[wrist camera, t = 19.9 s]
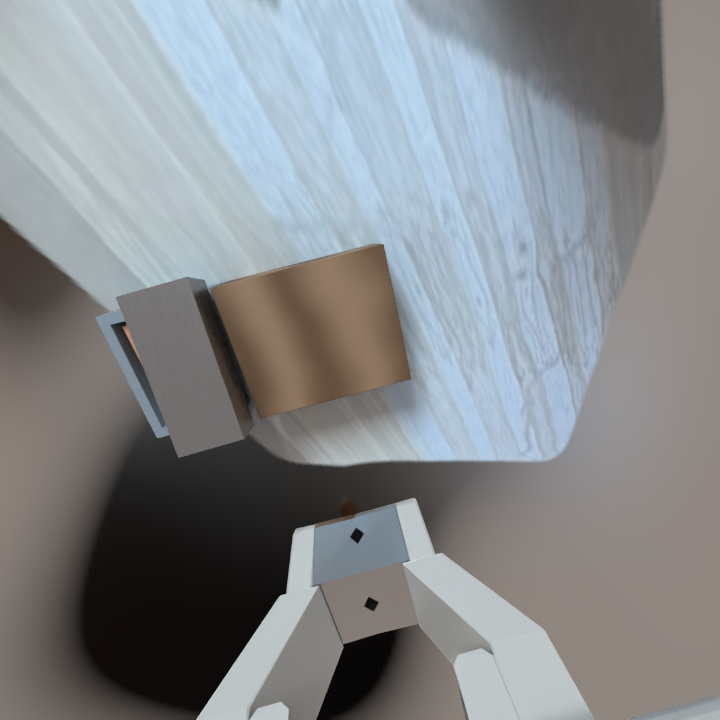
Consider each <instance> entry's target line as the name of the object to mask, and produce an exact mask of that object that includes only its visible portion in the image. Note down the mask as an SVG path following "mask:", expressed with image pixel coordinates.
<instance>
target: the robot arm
mask: <svg viewBox="0 0 720 720" xmlns="http://www.w3.org/2000/svg"><path fill="white" fill-rule="evenodd" d="M395 507H396V508H395ZM399 522H400V523H399ZM400 526H401V527H400ZM416 624H419V626H420V627H421V628H422V630H423V631H424V632H425V633H426V634H427V635H428V637H429V638H430V639H431V640H432V641H433V642H434V644H435V645H436V646H437V647H438V648H439V649H440V650H441V652H442V653H443V654H444V655H445V656H446V658H447V659H448V660H449V661H450V662H451V663H452V665H453V666H454V670H455V674H456V678H457V683H458V687H459V692H460V696H461V700H462V704H463V709H464V713H465V718H466V720H594V718H593V716H592V714H591V712H590V711H589V709H588V707H587V705H586V704H585V702H584V700H583V698H582V696H581V695H580V693H579V691H578V689H577V688H576V686H575V684H574V682H573V680H572V679H571V677H570V675H569V673H568V671H567V670H566V668H565V666H564V664H563V662H562V661H561V659H560V657H559V655H558V653H557V652H556V650H555V648H554V647H553V645H552V643H551V641H550V639H549V637H548V636H547V634H546V632H545V630H544V629H543V628H541V627H540V626H539V625H537V624H536V623H535V622H533V621H532V620H530V619H529V618H528V617H526V616H525V615H524V614H523V613H521V612H520V611H519V610H517V609H516V608H515V607H513V606H512V605H510V604H509V603H508V602H507V601H505V600H504V599H503V598H501V597H500V596H499V595H497V594H496V593H495V592H493V591H492V590H491V589H489V588H488V587H487V586H485V585H484V584H483V583H481V582H480V581H478V580H477V579H476V578H475V577H473V576H472V575H471V574H469V573H468V572H466V571H465V570H464V569H463V568H461V567H460V566H459V565H457V564H456V563H455V562H453V561H452V560H451V559H449V558H448V557H447V556H445V555H444V554H443V553H440V554H435V552H434V549H433V546H432V543H431V540H430V538H429V535H428V532H427V529H426V526H425V523H424V520H423V518H422V515H421V512H420V509H419V506H418V504H417V500H416V499H415V498H412V499H409V500H405V501H401V502H398V503H395V504H391V505H388V506H384V507H380V508H377V509H373V510H370V511H366V512H362V513H358V514H355V515H351V516H347V517H342V518H338V519H334V520H330V521H326V522H321V523H317V524H315V525H311V526H307V527H302V528H298V529H296V530H295V532H294V534H293V541H292V549H291V558H290V567H289V576H288V585H287V594H285V595H281V596H279V598H278V600H277V601H276V603H275V604H274V605H273V607H272V608H271V610H270V611H269V613H268V614H267V616H266V617H265V619H264V620H263V622H262V623H261V625H260V626H259V628H258V629H257V631H256V632H255V633H254V635H253V636H252V638H251V639H250V641H249V642H248V644H247V645H246V647H245V648H244V650H243V651H242V653H241V654H240V656H239V657H238V659H237V660H236V662H235V663H234V665H233V666H232V668H231V669H230V671H229V672H228V673H227V675H226V676H225V678H224V679H223V681H222V682H221V684H220V685H219V687H218V688H217V690H216V691H215V693H214V694H213V696H212V697H211V699H210V700H209V702H208V703H207V705H206V706H205V708H204V709H203V711H202V712H201V714H200V715H199V717H198V718H197V719H196V720H316V718H317V716H318V713H319V710H320V708H321V705H322V702H323V700H324V697H325V694H326V692H327V689H328V686H329V684H330V681H331V678H332V676H333V673H334V670H335V668H336V665H337V662H338V660H339V657H340V655H341V652H342V649H343V645H342V644H345V643H348V642H351V641H355V640H358V639H361V638H365V637H368V636H371V635H374V634H378V633H382V632H386V631H390V630H394V629H398V628H403V627H407V626H412V625H416ZM625 720H720V694H718V695H714V696H711V697H707V698H703V699H699V700H696V701H692V702H688V703H685V704H681V705H677V706H673V707H670V708H666V709H662V710H659V711H655V712H651V713H647V714H644V715H640V716H636V717H632V718H629V719H625Z"/></svg>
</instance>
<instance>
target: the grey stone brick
mask: <svg viewBox="0 0 720 720" xmlns="http://www.w3.org/2000/svg"><path fill="white" fill-rule="evenodd" d="M116 299H117V301H118V304H119V307H120V309H121V312H122V314H123V317H124V319H125V322H126V324H127V327H128V330H129V332H130V335H131V337H132V340H133V342H134V345H135V348H136V350H137V353H138V355H139V358H140V360H141V363H142V366H143V368H144V371H145V373H146V376H147V378H148V381H149V383H150V386H151V389H152V391H153V394H154V396H155V399H156V401H157V404H158V407H159V409H160V412H161V414H162V417H163V419H164V422H165V424H166V427H167V430H168V432H169V435H170V437H171V440H172V442H173V445H174V447H175V450H176V452H177V455H178V457H183V456H186V455H190V454H193V453H197V452H200V451H204V450H208V449H211V448H215V447H218V446H222V445H225V444H229V443H232V442H236V441H239V440H243V439H245V437H246V436H247V435H248V433H249V432H250V431H251V429H252V428H253V427H254V422H253V419H252V416H251V413H250V410H249V407H248V404H247V401H246V398H245V396H244V393H243V390H242V387H241V384H240V381H239V378H238V375H237V372H236V369H235V367H234V364H233V361H232V358H231V355H230V352H229V349H228V346H227V343H226V341H225V338H224V335H223V332H222V329H221V326H220V323H219V320H218V317H217V314H216V312H215V309H214V306H213V303H212V300H211V297H210V294H209V291H208V288H207V285H206V283H205V280H201V279H195V278H190V277H185V278H182V279H178V280H175V281H171V282H168V283H164V284H161V285H157V286H154V287H150V288H146V289H143V290H139V291H136V292H132V293H129V294H125V295H122V296H118V297H116Z"/></svg>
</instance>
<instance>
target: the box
mask: <svg viewBox="0 0 720 720" xmlns="http://www.w3.org/2000/svg"><path fill="white" fill-rule="evenodd" d="M221 284H223V283H220V284H216V285H212V286H208V287H207V288H208V291H209V294H210V297H211V300H212V303H213V306H214V309H215V312H216V314H217V317H218V320H219V323H220V326H221V329H222V332H223V335H224V338H225V341H226V343H227V346H228V349H229V352H230V355H231V358H232V361H233V364H234V367H235V369H236V372H237V375H238V378H239V381H240V384H241V387H242V390H243V393H244V396H245V398H246V401H247V404H248V407H249V410H250V413H251V412H252V410H253V408H256V406H255V404H254V401H253V399H252V396H251V393H250V391H249V388H248V386H247V383H246V380H245V378H244V375H243V373H242V370H241V368H240V365H239V362H238V360H237V357H236V355H235V352H234V349H233V347H232V344H231V342H230V339H229V337H228V334H227V331H226V329H225V326H224V324H223V321H222V318H221V316H220V313H219V311H218V308H217V306H216V303H215V300H214V298H213V295H212V293H211V290H210V289H211V288H214V287H216V286H218V285H221ZM95 318H96V320H97V322H98V324H99V326H100V328H101V330H102V332H103V334H104V336H105V338H106V340H107V342H108V344H109V346H110V348H111V350H112V352H113V353H114V355H115V357H116V359H117V361H118V363H119V365H120V367H121V369H122V371H123V373H124V375H125V377H126V378H127V381H128V382H129V384H130V386H131V388H132V390H133V392H134V394H135V396H136V398H137V400H138V402H139V404H140V406H141V408H142V410H143V412H144V414H145V415H146V417H147V419H148V421H149V423H150V425H151V427H152V429H153V431H154V433H155V435H156V437H157V438H160V437H164V436H167V435H169V432H168V430H167V427H166V424H165V422H164V419H163V417H162V414H161V412H160V409H159V407H158V404H157V401H156V399H155V396H154V394H153V391H152V389H151V386H150V383H149V381H148V378H147V376H146V373H145V371H144V368H143V366H142V364H141V362H140V360H139V358H138V356H137V354H136V352H135V350H134V348H133V347H132V345H131V343H130V341H129V339H128V337H127V335H126V333H125V331H124V329H123V327H122V326H125V325H127V324H126V322H125V319H124V317H123V314H122V312H121V309H119V310H116V311H113V312H110V313H107V314H104V315H101V316H98V317H95Z"/></svg>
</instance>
